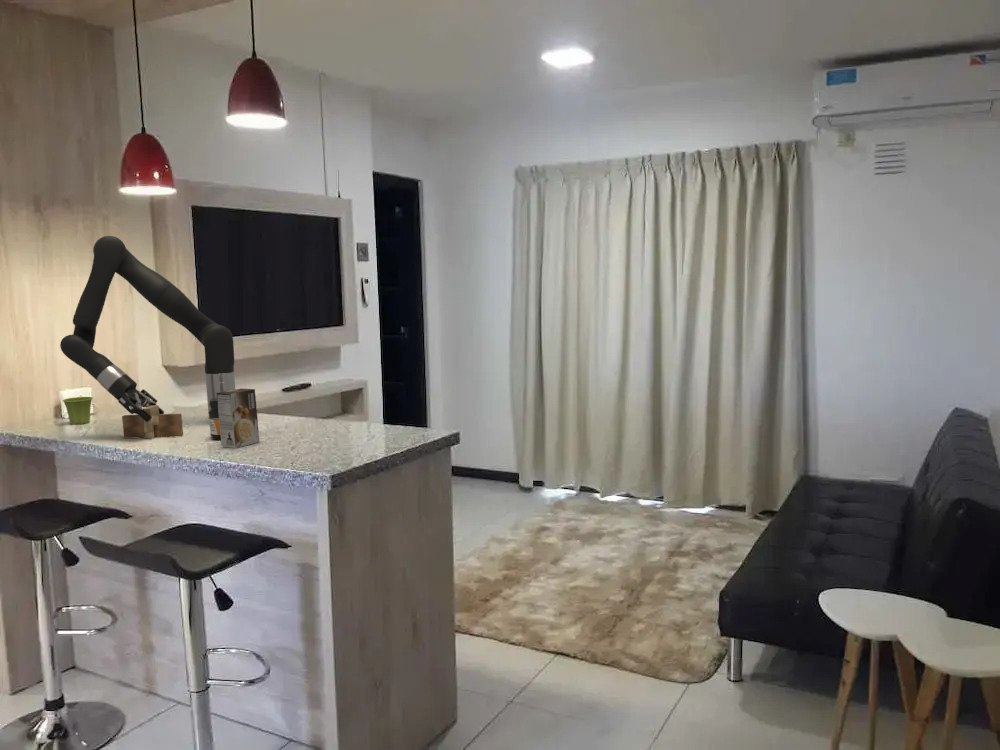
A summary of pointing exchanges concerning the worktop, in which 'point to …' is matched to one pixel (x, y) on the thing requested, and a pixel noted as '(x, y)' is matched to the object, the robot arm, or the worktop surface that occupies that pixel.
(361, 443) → the worktop surface
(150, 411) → the wooden arch block
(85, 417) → the plant pot
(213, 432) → the supplement container
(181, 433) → the walnut board
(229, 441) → the coffee box
